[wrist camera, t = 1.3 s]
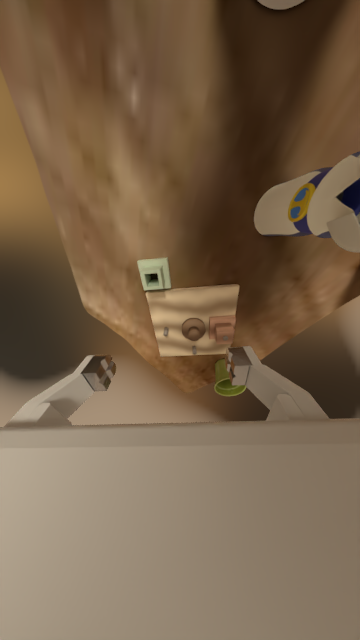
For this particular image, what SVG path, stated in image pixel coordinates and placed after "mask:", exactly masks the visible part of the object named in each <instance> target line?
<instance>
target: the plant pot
mask: <svg viewBox="0 0 360 640" xmlns="http://www.w3.org/2000/svg"><path fill="white" fill-rule="evenodd" d="M215 375H216V382H215V386H214V390H215V391H216V393H218V394H220V395H223V396H235V395H238V394H240V393H242V392H243V391H244V390H245V389H246V385H232V384H231V381H230V378H229V372H228V371H227V369H226V365H225V359H221V360H219V361H217V363H215Z"/></svg>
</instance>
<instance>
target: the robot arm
mask: <svg viewBox="0 0 360 640" xmlns="http://www.w3.org/2000/svg"><path fill="white" fill-rule="evenodd" d="M257 1H258V2H259V3H261V4H262V5H264V6H266V7H268V8H271V9H287V8H291V7H293V6H296V5H298V4H300V3H301V2H303V1H304V0H257ZM226 354H227V355H226V356H225V365H226V369H227V371H228V372H229V378H230V381H231V384H232V385H246V387H247V388H248V389H250V391H251V392H252V393H253V394H254V395H255V396H256V397H257V398H258V399H259V400H260V401H261V402H262V403H263V404H264V405H266V407H268V409H269V410H270V413H269V415H268V417H267V419H266V421H241V422H239V421H238V422H198V423H197V422H195V423H153V424H115V425H114V424H112V425H72V424H71V422H70V421H69V420H68V419H67V418H68V417H69V416H70V415H71V414H73V413H74V411H76V410H77V409H78V408H79V407H80V406H81V405H82V404H83V403H84V402H85V401H86V400H87V399H88V398H89V397H90V396H91V395H92V394H93V393H94V391H106V390H107V389H108V387H109V385H110V383H111V380H110V379H111V378H112V377H113V376H114V374H115V372H116V365H115V363H114V362H113V361H111V360H112V357H111V355H89V356H87V357H86V358H85V359H84V360H83V362H82V363H81V364H80V366H79V367H78V368H77V369H76V370H75V372H74V373H73V374H72V375H69V376H67V377H65V378H64V379H62V380H61V381H60V382H58V383H56V384H55V385H53V386H51V387H50V388H48V389H47V390H46V391H44V392H42V393H41V394H39V395H38V396H36V397H34V398H33V399H31V400H30V401H28V402H27V403H26V404H25V405H24V406H23V407H22V408H21V409H20V410H19V411H18V412H17V413H16V414H15V415H14V417H13V418H12V419H11V420H10V421H9V422H8V423H7V424H6V425H5V426H4V427H0V640H360V418H359V419H329V418H328V416H327V415H326V414H325V413H324V411H323V410H322V409H321V408H320V406H319V405H318V404H317V403H316V401H315V400H314V399H313V398H312V396H311V395H310V394H309V393H308V392H307V391H305V390H304V389H302V388H300V387H299V386H297V385H296V384H294V383H292V382H291V381H289V380H288V379H286V378H285V377H283V376H281V375H280V374H278V373H276V372H275V371H274V370H272V369H270V368H269V367H267V366H266V365H262V364H261V362H260V361H259V359H258V357H257V356H256V354H255V352H254V351H253V349H252V348H251V347H250V346H242V347H228V348H226Z"/></svg>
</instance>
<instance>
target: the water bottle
mask: <svg viewBox="0 0 360 640" xmlns="http://www.w3.org/2000/svg"><path fill="white" fill-rule="evenodd" d="M254 225H255V228H256V230H257V231H258V232H259V233H260V234H262V235H264V236H305V235H309V234H314V235H316V236H318V237H321V238H331V237H332V238H333V240H334V241H335V243H336V244H337V245H338V246H340V247H341V248H343V249H345V250H347V251H351V252H360V152H357V153H354V154H352V155H350V156H348V157H347V158H345V159H343V160H342V161H341V162H339V163H338V164H337V165H336V166H334V167H329V168H321V169H318V170H315V171H312V172H310V173H307V174H305V175H302V176H300V177H298V178H295V179H293V180H290V181H287V182H284V183H281V184H278V185H276V186H274V187H272V188H270V189H269V190H268V191H267V192H266V193H265V194H264V195H263V196H262V197H261V199H260V200H259V202H258V204H257V206H256V209H255V212H254Z"/></svg>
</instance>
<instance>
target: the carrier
mask: <svg viewBox="0 0 360 640" xmlns="http://www.w3.org/2000/svg"><path fill="white" fill-rule="evenodd" d="M238 293H239V285H238V284H230V285H217V286H204V287H191V288H178V289H165V290H152V291H147V292H146V297H147V301H148V305H149V309H150V314H151V318H152V322H153V326H154V331H155V335H156V339H157V343H158V348H159V352H160V356H161V357H165V356H187V355H209V354H226V348H228V347H231V344H232V343H233V338H234V332H235V330H234V328H235V322H236V318H235V313H236V307H237V300H238Z"/></svg>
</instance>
